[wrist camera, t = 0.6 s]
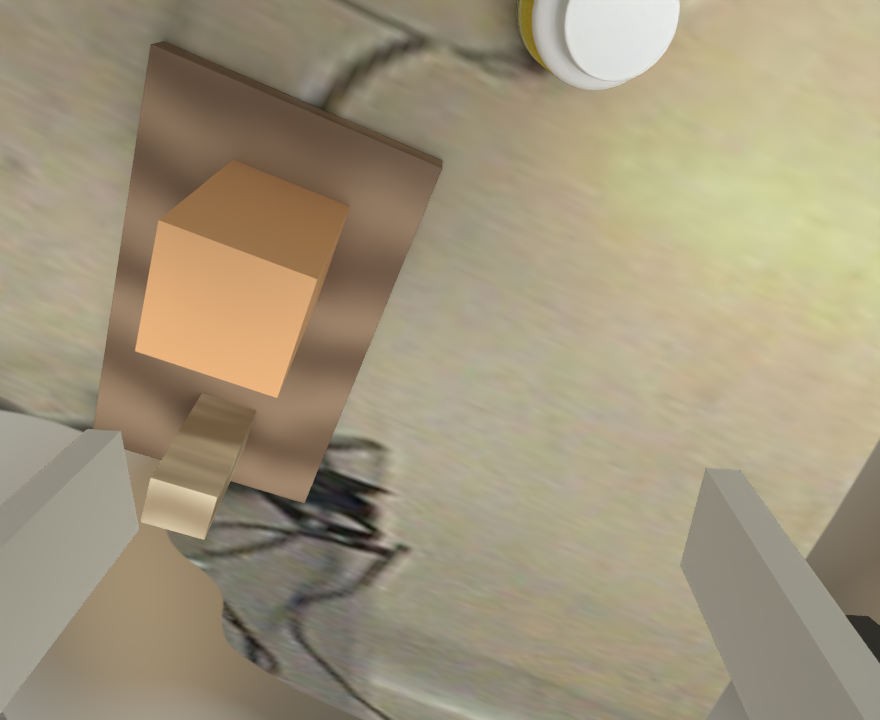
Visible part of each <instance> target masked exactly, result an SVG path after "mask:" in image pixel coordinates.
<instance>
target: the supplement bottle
mask: <svg viewBox="0 0 880 720" xmlns="http://www.w3.org/2000/svg"><path fill="white" fill-rule="evenodd" d="M679 10H680V3H679V0H518V1H517V10H516V19H517V26H518V31H519V34H520V37H521V40H522V42H523V44H524V46H525V48H526V49H527V51H528V52H529V54H530V55H531V56H532V57H533V58H534V59H535V60H536V61H537V62H538V63H540V64H541V65H542V66H543V67H544V68H545V69H547V70H548V71H550V72H551V73H552V74H554V75H555V76H556V77H557V78H559V79H560V80H562V81H563V82H565V83H567V84H569V85H571V86H574V87H576V88H580V89H585V90H604V89H609V88H613V87H616V86H618V85H621V84H623V83H625V82H627V81H629V80H631V79H632V78H634V77H636V76H638V75H640V74H642V73H643V72H645V71H646V70H648V69H649V68H650V67H652V66H653V65H654V64H655V63H656V62H657V61H658V60H659V59H660V57H661V56H662V55H663V54H664V53H665V51H666V50H667V48H668V46H669V45H670V43H671V41H672V39H673V37H674V34H675V31H676V28H677V24H678V19H679Z"/></svg>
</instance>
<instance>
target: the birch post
mask: <svg viewBox="0 0 880 720" xmlns="http://www.w3.org/2000/svg"><path fill="white" fill-rule="evenodd" d="M255 414H256V410H253V409H250V408H247V407H244V406H241V405H237V404H234V403H231V402H228V401H225V400H222V399H219V398H216V397H213V396H210V395H207V394H204V393H202V394H201V395H200V397H199V399H198V400H197V402H196V404H195V405H194V407H193V409H192V410H191V412H190V414H189V415H188V417H187V419H186V420H185V422H184V424H183V425H182V427H181V429H180V430H179V432H178V433H177V435H176V437H175V438H174V440H173V442H172V443H171V445H170V447H169V448H168V450H167V452H166V453H165V455H164V457H163V458H162V460H161V462H160V463H159V465H158V467H157V468H156V470H155V471H154V473H153V475H152V476H151V479H150V483H149V488H148V492H147V496H146V501H145V505H144V510H143V514H142V519H141V522H143V523H147V524H150V525H154V526H157V527H161V528H164V529H168V530H171V531H175V532H179V533H182V534H186V535H189V536H193V537H196V538H200V539H205V537H206V535H207V533H208V530H209V528H210V526H211V524H212V521H213V519H214V517H215V515H216V512H217V510H218V508H219V505H220V503H221V501H222V499H223V496H224V494H225V492H226V490H227V487H228V485H229V483H230V481H231V478H232V476H233V474H234V471H235V469H236V467H237V465H238V462H239V460H240V458H241V456H242V453H243V451H244V448H245V445H246V442H247V439H248V436H249V433H250V430H251V427H252V423H253V420H254V417H255Z"/></svg>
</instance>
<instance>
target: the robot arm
mask: <svg viewBox="0 0 880 720" xmlns="http://www.w3.org/2000/svg"><path fill="white" fill-rule="evenodd" d="M138 530H139V527H138V521H137V516H136V510H135V505H134V500H133V494H132V489H131V483H130V478H129V473H128V467H127V462H126V456H125V451H124V446H123V440H122V435H121V431H111V430H95V429H87V430H86V431H85V432H83V433H82V434H81V435H80V436H79V437H78V438H77V439H76V440H74V441H73V442H72V443H71V444H70V445H69V446H68V447H67V448H65V449H64V450H63V451H62V452H61V453H60V454H59V455H57V456H56V457H55V458H54V459H53V460H52V461H51V462H50V463H48V464H47V465H46V466H45V467H44V468H43V469H42V470H40V471H39V472H38V473H37V474H36V475H35V476H34V477H33V478H31V479H30V480H29V481H28V482H27V483H26V484H25V485H23V486H22V487H21V488H20V489H19V490H18V491H17V492H16V493H14V494H13V495H12V496H11V497H10V498H9V499H8V500H7V501H5V502H4V503H3V504H2V505H1V506H0V713H1V712H2V710H3V709H4V708H5V706H6V705H7V703H9V701H10V700H11V698H12V697H13V696H14V695H15V693H16V692H17V690H18V689H19V688H20V687H21V685H22V684H23V683H24V681H25V680H26V679H27V677H28V676H29V675H30V673H31V672H32V671H33V669H34V668H35V667H36V665H37V664H38V662H39V661H40V660H41V659H42V657H43V656H44V655H45V653H46V652H47V651H48V649H49V648H50V646H51V645H52V644H53V643H54V641H55V640H56V639H57V638H58V636H59V635H60V633H61V632H62V631H63V630H64V628H65V627H66V625H67V624H68V623H69V621H70V620H71V619H72V618H73V616H74V615H75V614H76V612H77V611H78V610H79V608H80V607H81V605H82V604H83V603H84V602H85V600H86V599H87V598H88V596H89V595H90V594H91V592H92V591H93V590H94V588H95V587H96V586H97V584H98V583H99V582H100V580H101V579H102V578H103V576H104V575H105V574H106V572H107V571H108V570H109V568H110V567H111V566H112V565H113V563H114V562H115V561H116V559H117V558H118V556H119V555H120V554H121V552H122V551H123V550H124V549H125V547H126V546H127V545H128V543H129V542H130V541H131V539H132V538H133V537H134V535H135V534H136V532H137V531H138ZM681 568H682V570H683V572H684V574H685V577H686V579H687V581H688V583H689V586H690V588H691V590H692V592H693V594H694V597H695V599H696V601H697V603H698V606H699V608H700V610H701V612H702V615H703V617H704V619H705V621H706V623H707V626H708V628H709V630H710V632H711V635H712V637H713V639H714V641H715V644H716V646H717V648H718V650H719V652H720V655H721V657H722V659H723V661H724V664H725V666H726V668H727V670H728V673H729V675H730V677H731V679H732V682H733V683H734V686H735V688H736V690H737V693H738V695H739V697H740V699H741V702H742V704H743V706H744V708H745V711H746V713H747V715H748V717H749V719H750V720H880V625H878V624H877V623H876V622H875V621H873V620H872V619H871V618H870V617H868V616H854V615H844V613H843V612H842V611H841V609H840V608H839V606H838V605H837V604H836V602H835V601H834V599H833V598H832V597H831V595H830V594H829V593H828V591H827V590H826V589H825V587H824V585H823V584H822V583H821V581H820V580H819V579H818V577H817V576H816V574H815V573H814V572H813V570H812V569H811V567H810V566H809V565H808V563H807V562H806V560H805V559H804V558H803V556H802V555H801V554H800V552H799V551H798V549H797V548H796V547H795V545H794V544H793V542H792V541H791V540H790V538H789V537H788V535H787V534H786V533H785V531H784V530H783V528H782V527H781V526H780V524H779V523H778V522H777V520H776V519H775V517H774V516H773V515H772V513H771V512H770V510H769V509H768V508H767V506H766V505H765V503H764V502H763V501H762V499H761V498H760V497H759V495H758V494H757V492H756V491H755V490H754V488H753V487H752V485H751V484H750V483H749V481H748V480H747V478H746V477H745V476H744V474H743V473H742V472H741V470H730V469H714V468H706V469H705V472H704V476H703V480H702V484H701V488H700V492H699V495H698V499H697V503H696V507H695V511H694V515H693V519H692V522H691V526H690V530H689V534H688V538H687V542H686V545H685V549H684V553H683V557H682V561H681Z"/></svg>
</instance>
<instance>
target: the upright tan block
mask: <svg viewBox="0 0 880 720" xmlns="http://www.w3.org/2000/svg"><path fill="white" fill-rule="evenodd" d="M349 208H350V206H347V205H345V204H342V203H340V202H337V201H335V200H332V199H330V198H327V197H325V196H322V195H320V194H317V193H315V192H312V191H310V190H307V189H305V188H302V187H300V186H297V185H295V184H293V183H290V182H288V181H285V180H283V179H280V178H278V177H275V176H273V175H270V174H268V173H265V172H263V171H260V170H258V169H255V168H253V167H250V166H248V165H245V164H243V163H240V162H238V161H235V160H232V161H231V162H230V163H228V164H227V165H226V166H225V167H223V168H222V169H221V170H220V171H218V172H217V173H216V174H215V175H214V176H212V177H211V178H210V179H209V180H207V181H206V182H205V183H204V184H202V185H201V186H200V187H199V188H198V189H196V190H195V191H194V192H193V193H191V194H190V195H189V196H188V197H186V198H185V199H184V200H183V201H182V202H180V203H179V204H178V205H177V206H175V207H174V208H173V209H172V210H170V211H169V212H168V213H167V214H165V215H164V216H163V217H162V218H161V219H159V220H158V226H157V231H156V237H155V243H154V248H153V254H152V259H151V265H150V270H149V276H148V281H147V287H146V293H145V298H144V304H143V309H142V315H141V320H140V326H139V332H138V337H137V343H136V348H135V351H136V352H139V353H142V354H145V355H148V356H151V357H154V358H157V359H160V360H163V361H166V362H170V363H173V364H176V365H179V366H182V367H185V368H188V369H191V370H194V371H197V372H200V373H203V374H206V375H209V376H212V377H215V378H218V379H221V380H224V381H227V382H230V383H233V384H236V385H239V386H242V387H245V388H248V389H251V390H254V391H257V392H260V393H263V394H266V395H269V396H272V397H275V398H278V395H279V393H280V390H281V388H282V386H283V383H284V381H285V378H286V376H287V374H288V371H289V369H290V366H291V364H292V362H293V359H294V357H295V354H296V352H297V350H298V347H299V345H300V342H301V340H302V338H303V335H304V333H305V330H306V328H307V326H308V323H309V321H310V318H311V316H312V314H313V311H314V309H315V306H316V304H317V301H318V298H319V295H320V292H321V289H322V286H323V283H324V281H325V278H326V275H327V272H328V269H329V266H330V263H331V260H332V257H333V254H334V252H335V249H336V246H337V243H338V240H339V237H340V234H341V231H342V228H343V225H344V223H345V220H346V217H347V214H348V211H349Z"/></svg>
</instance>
